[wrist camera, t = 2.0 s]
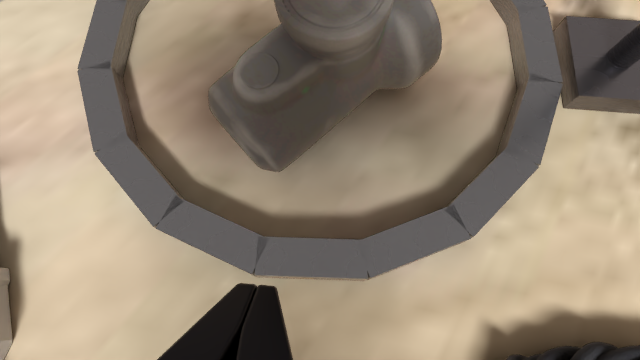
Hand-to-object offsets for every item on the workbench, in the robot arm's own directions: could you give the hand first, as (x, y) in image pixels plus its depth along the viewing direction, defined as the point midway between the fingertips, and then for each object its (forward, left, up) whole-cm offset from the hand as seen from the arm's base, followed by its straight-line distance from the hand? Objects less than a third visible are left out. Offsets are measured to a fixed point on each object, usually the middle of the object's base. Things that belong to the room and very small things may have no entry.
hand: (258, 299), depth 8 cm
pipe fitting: (+8, -9, -13) cm, 18 cm away
